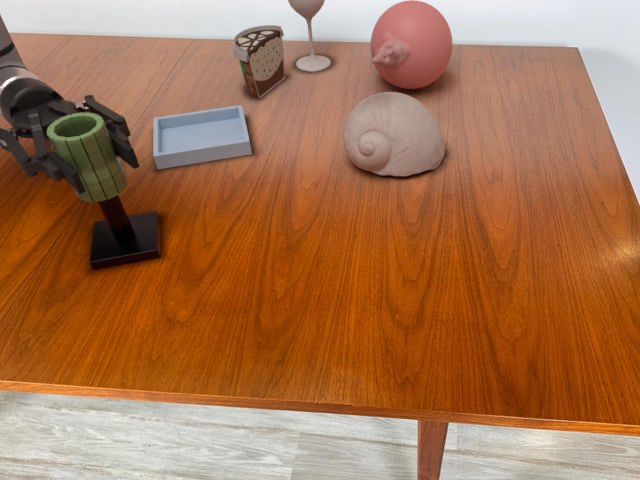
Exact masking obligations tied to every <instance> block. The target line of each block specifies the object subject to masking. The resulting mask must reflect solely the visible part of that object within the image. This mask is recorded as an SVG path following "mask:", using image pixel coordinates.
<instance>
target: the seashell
mask: <svg viewBox="0 0 640 480" xmlns="http://www.w3.org/2000/svg"><path fill="white" fill-rule="evenodd" d="M342 133H343V134H342V140H343V147H344V151H345V153H346V155H347V157H348V158H349V160H350V161H351V162H352V163H353V165H355V166H356V167H357V168H358V169H361V170H363V171H367V172H371V173H373V174H375V175H379V176H393V177H408V176H409V177H410V176H411V175H415V174H420V173H423V172H426V171H431V170H436V169H437V168H438V167H440V165H441V163H442V161H443V159H444V157H445V154H446V147H445V141H444V140H445V139H444V136H443V132H442V129H441V127H440V125H439V123H438V121H437V119H436V118H435V116H434V115H433V114H432V113H431V111H430V110H429V109H428V108H427V107H426V106H425V105H424V104H423V103H422V102H420V101H419V100H418V99H416V98H415V97H414V96H413V97H412V96H410V95H408V94H406V93H401V92H399V91H384V92H379V93H374V94H372V95H369V96H367V97H366V98H363V100H360V102H359V103H357V104H356V105H355V106H354V107H353V108H352V110H351V111H350V113H349V114H348V116H347V118H346V121H345V123H344V126H343V132H342Z"/></svg>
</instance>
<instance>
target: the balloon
mask: <svg viewBox="0 0 640 480" xmlns="http://www.w3.org/2000/svg"><path fill="white" fill-rule="evenodd" d="M452 53H453V36H452V31H451V28H450V25H449V23H448V22H447V19H446V18H445V16H444V15H443V13H441V12H440V10H438V9H437V8H436V7H434V6H433V5H431V4H429V3H427V2H424V1H421V0H404V1H400V2H397V3H395V4H393V5H392V6H390V7H388V8H387V9H386V10H385V11H384V12H382V14H381V15H380V16H379V18H378V19H377V21H376V23H375V24H374V27H373V29H372V33H371V36H370V54H371V63H372V64H373V65H374V67H375V68H376V70H377V72H378V73H379V74H380V75H381V77H382V78H383V79H384V80H385V81H386V82H388V83H389V84H391V85H393V86H395V87H397V88H401V89H406V90H416V89H422V88H424V87H426V86H429V85H430V84H432V83H434V82H435V81H436V80H438V79H439V78H440V76H441V75H443V74H444V71H445V70H446V69H447V67H448V65H449V63H450V60H451V57H452Z"/></svg>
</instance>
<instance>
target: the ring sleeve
mask: <svg viewBox="0 0 640 480" xmlns="http://www.w3.org/2000/svg"><path fill="white" fill-rule="evenodd" d="M46 134H47V136H48V138H49V140H50V142H51V147H52V148H53V151H54V152H55V153H56V154H57V155H58V156H59V157H60V158H62V159H63V160H64V161H65V162H66V163H67V164H68V165H70V166H71V167H72V168H73V169H74V170H75V171H76V172H77V173H78V175H79V177H80V179H81V181H82V183H83V186H84V188H85V190H86V192H84V193H82V194H80V193H79V192H77V191H76V190H75V189H74V188H73V187H72V186H71V187H72V190H73V192H74V194H75V195H76V196H77V198H78V199H80V200H81V201H82V202H83V201H84V202H88V203H89V202H90V203H98V201H104V200H106V198H107V199H108V200H109V199H111V198H113V197H115V196H117V195H119V196H120V194H122V192H124V190H125V189H127V186H128V178H127V175H126V172H125V170H124V168H123V165H122V163H121V160H120V157H119V156H118V155H117V152H116V150H115V147H114V145H113V142H112V140H111V137H110V135H109V132H108V130H107V127H106V125H105V122H104V120H103V118H102V117H100V116H99V115H98V114H97V115H96V114H95V113H88V112H85V113H84V112H82V113H74V114H71V115H67V116H64V117H61V118H59V119H58V120H55V121H54V122H53V123H52V124H50V125H49V127H48V129H47V133H46Z"/></svg>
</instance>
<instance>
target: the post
mask: <svg viewBox="0 0 640 480" xmlns="http://www.w3.org/2000/svg"><path fill="white" fill-rule="evenodd" d="M97 204H98V207H99V209H100V210H101V213H102V215H103V217H104V219H100V220H96V221H93V227H92V233H91V234H92V235H91V242H90V253H89V262H88V263H89V265H90V267H91V269H92V270H93V271H95V270H101V269H106V268H112V267H116V266H122V265H129V264H133V263H139V262H144V261H148V260H154V259H160V258H161V217H160V214H159V211H158V210H153V211H147V212H141V213H136V214H130V215H128V212H127V211H126V208H125V206H124V203H123V201H122V199H121V197H120V194H119V195H117V196H115V197H113V198H111V199H109V200H108V199H107V198H106V200H104V201H98V202H97Z"/></svg>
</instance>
